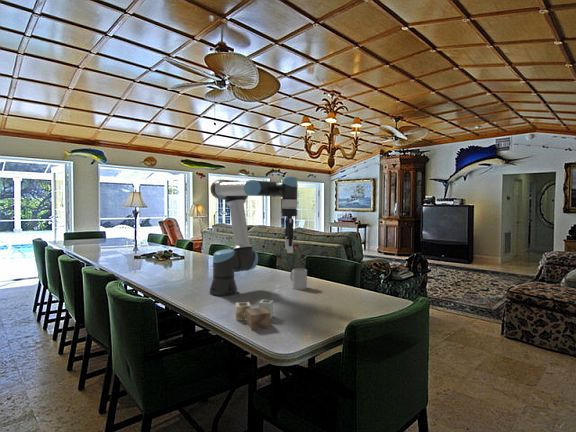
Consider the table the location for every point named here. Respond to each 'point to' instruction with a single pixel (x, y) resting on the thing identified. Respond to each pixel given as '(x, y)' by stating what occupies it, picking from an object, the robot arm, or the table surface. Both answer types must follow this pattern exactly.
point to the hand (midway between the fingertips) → (288, 251)
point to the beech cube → (242, 310)
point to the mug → (299, 278)
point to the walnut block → (258, 318)
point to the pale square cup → (267, 306)
